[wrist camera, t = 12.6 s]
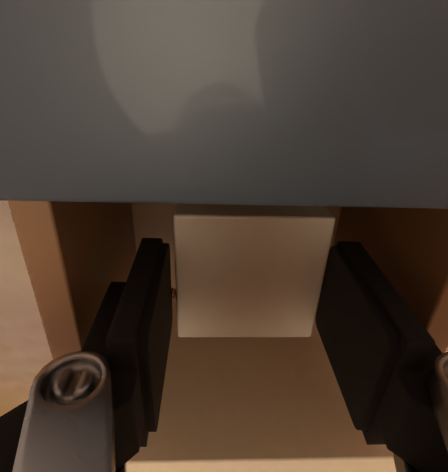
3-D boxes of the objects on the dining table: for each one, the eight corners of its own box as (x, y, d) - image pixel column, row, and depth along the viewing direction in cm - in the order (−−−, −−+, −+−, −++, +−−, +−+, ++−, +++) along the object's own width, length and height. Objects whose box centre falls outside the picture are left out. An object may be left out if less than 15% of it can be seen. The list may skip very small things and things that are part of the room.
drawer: (323, 372, 20) (381, 539, 13) (125, 373, 20) (80, 547, 13) (414, 12, 12) (703, -37, 5) (70, -5, 11) (-151, -87, 4)
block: (299, 167, 13) (337, 218, 9) (285, 264, 15) (311, 338, 11) (183, 164, 13) (172, 215, 9) (185, 263, 15) (177, 338, 11)
